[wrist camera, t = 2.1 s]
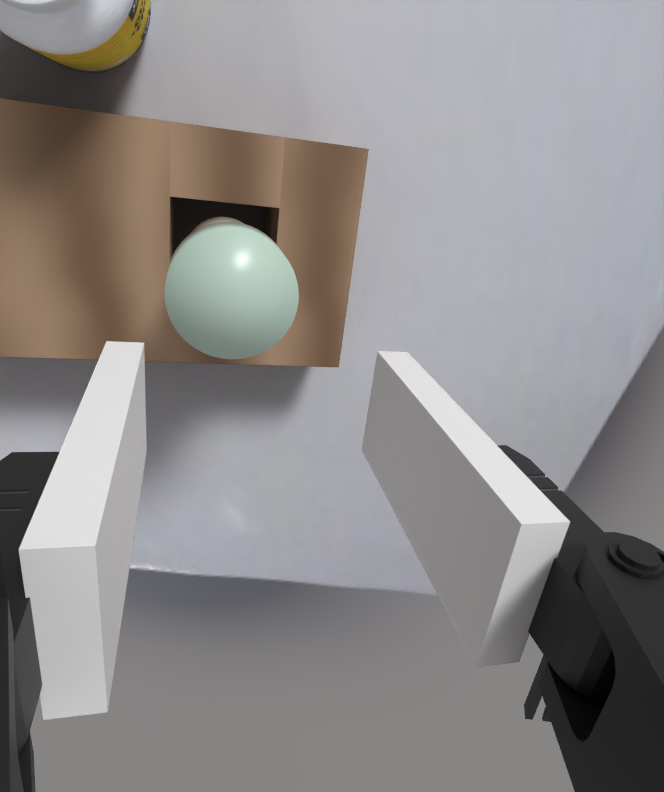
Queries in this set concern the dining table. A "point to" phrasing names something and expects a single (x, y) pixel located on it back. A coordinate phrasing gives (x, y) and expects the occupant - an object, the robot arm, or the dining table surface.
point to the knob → (230, 290)
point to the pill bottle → (78, 30)
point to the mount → (158, 229)
